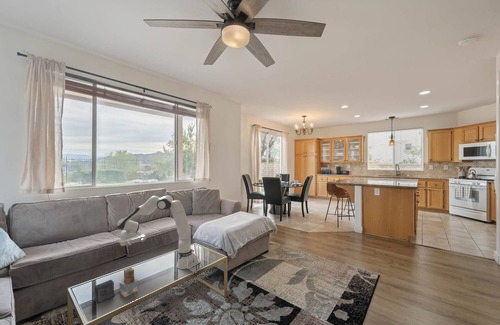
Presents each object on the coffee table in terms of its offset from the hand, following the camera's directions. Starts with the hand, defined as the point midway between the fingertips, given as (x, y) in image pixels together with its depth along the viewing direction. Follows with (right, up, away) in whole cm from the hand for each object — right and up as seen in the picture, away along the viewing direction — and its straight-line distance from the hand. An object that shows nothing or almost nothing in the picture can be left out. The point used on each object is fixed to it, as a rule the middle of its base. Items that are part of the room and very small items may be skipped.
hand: (136, 242), depth 177 cm
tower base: (+4, -31, -19) cm, 36 cm away
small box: (-9, -31, -26) cm, 41 cm away
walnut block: (+5, -23, -19) cm, 30 cm away
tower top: (+5, -27, -19) cm, 33 cm away
